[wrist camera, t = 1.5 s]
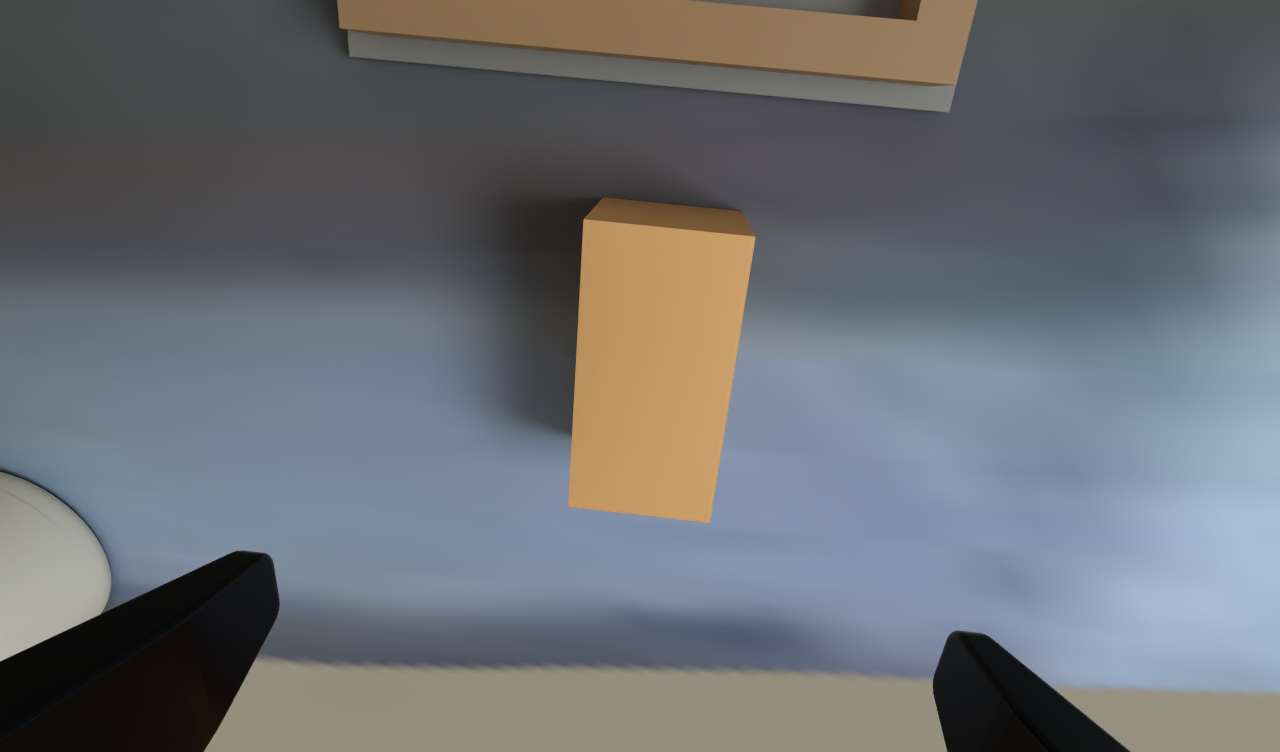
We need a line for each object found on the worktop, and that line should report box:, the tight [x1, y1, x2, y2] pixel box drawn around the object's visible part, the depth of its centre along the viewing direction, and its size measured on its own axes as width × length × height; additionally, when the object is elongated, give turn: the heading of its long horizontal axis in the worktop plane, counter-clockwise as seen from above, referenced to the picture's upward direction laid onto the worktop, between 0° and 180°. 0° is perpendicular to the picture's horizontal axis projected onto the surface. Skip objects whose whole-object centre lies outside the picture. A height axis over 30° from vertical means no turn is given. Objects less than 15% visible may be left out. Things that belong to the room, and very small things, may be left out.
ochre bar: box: [568, 197, 755, 523], centre depth 18 cm, size 8×4×4 cm, turn 175°
